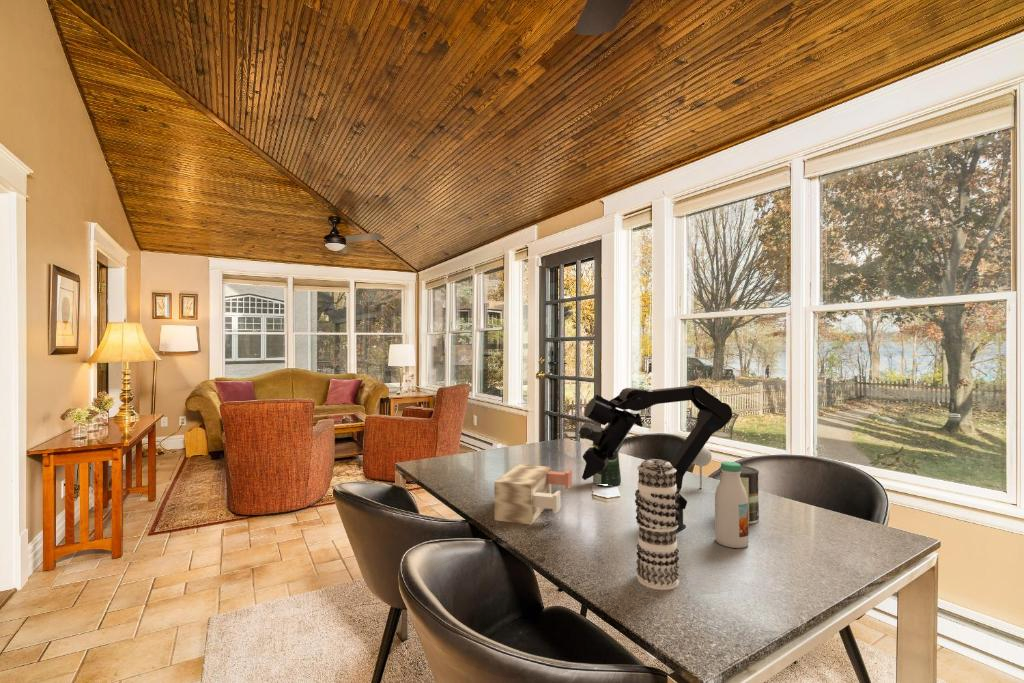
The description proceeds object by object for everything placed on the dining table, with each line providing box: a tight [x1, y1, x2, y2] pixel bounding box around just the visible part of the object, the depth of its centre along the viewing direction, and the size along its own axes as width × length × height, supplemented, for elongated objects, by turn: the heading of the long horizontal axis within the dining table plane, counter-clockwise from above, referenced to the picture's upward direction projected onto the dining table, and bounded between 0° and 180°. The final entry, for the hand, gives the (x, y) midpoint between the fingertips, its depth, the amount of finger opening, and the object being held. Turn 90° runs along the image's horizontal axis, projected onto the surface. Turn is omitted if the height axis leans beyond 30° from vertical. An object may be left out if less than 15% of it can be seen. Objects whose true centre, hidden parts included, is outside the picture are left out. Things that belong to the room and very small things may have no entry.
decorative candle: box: [634, 458, 681, 591], centre depth 101 cm, size 9×9×25 cm
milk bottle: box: [714, 461, 750, 549], centre depth 120 cm, size 8×8×20 cm
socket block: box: [493, 463, 552, 526], centre depth 145 cm, size 11×22×11 cm, turn 161°
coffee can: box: [718, 465, 760, 525], centre depth 138 cm, size 10×10×14 cm
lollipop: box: [692, 446, 713, 489], centre depth 167 cm, size 7×7×15 cm
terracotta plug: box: [547, 469, 573, 490], centre depth 150 cm, size 12×5×5 cm, turn 71°
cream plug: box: [533, 490, 562, 514], centre depth 136 cm, size 12×5×5 cm, turn 71°
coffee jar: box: [592, 441, 622, 486], centre depth 173 cm, size 10×8×19 cm
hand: (588, 472), depth 135 cm, fingers open, 9 cm apart
